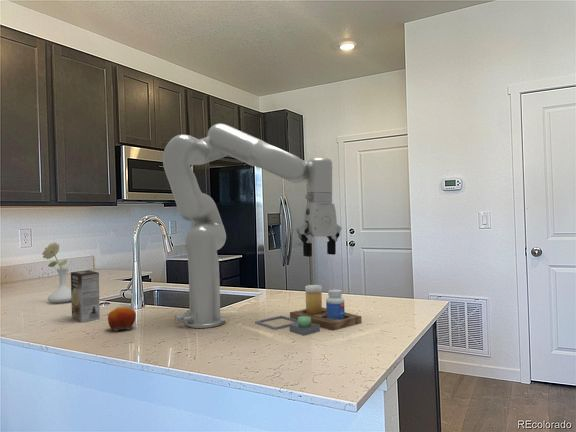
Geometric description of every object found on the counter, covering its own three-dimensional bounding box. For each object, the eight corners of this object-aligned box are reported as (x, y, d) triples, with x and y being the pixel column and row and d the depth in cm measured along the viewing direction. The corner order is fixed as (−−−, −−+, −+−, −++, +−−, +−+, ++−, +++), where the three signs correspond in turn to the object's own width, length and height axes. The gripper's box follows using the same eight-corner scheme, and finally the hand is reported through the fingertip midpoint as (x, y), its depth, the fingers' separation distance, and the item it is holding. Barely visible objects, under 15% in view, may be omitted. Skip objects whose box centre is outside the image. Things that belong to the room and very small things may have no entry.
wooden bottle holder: (332, 334, 119) (332, 323, 119) (290, 322, 134) (289, 312, 134) (361, 326, 127) (361, 316, 127) (318, 316, 142) (317, 306, 142)
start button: (303, 327, 117) (303, 319, 117) (295, 324, 120) (295, 317, 120) (313, 324, 119) (313, 317, 119) (305, 322, 122) (304, 315, 122)
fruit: (109, 330, 124) (108, 304, 128) (108, 339, 130) (106, 314, 134) (139, 326, 128) (136, 301, 132) (136, 335, 134) (133, 310, 138)
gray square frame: (275, 333, 122) (275, 327, 122) (255, 327, 130) (255, 321, 130) (302, 327, 128) (302, 321, 128) (281, 321, 136) (281, 315, 136)
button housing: (303, 339, 115) (303, 328, 115) (289, 335, 120) (289, 324, 120) (320, 335, 119) (319, 324, 119) (305, 331, 124) (305, 320, 124)
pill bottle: (344, 326, 124) (342, 292, 124) (325, 325, 125) (324, 292, 125) (345, 321, 129) (344, 288, 129) (328, 320, 130) (327, 288, 130)
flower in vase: (69, 297, 186) (68, 240, 186) (83, 300, 179) (82, 241, 179) (38, 303, 175) (36, 242, 175) (51, 306, 169) (50, 243, 169)
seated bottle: (313, 320, 131) (312, 288, 131) (302, 318, 135) (301, 286, 135) (326, 318, 134) (325, 286, 134) (314, 315, 138) (314, 284, 138)
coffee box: (70, 318, 147) (69, 272, 147) (89, 315, 152) (88, 270, 152) (81, 322, 141) (80, 274, 141) (101, 319, 145) (99, 271, 145)
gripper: (305, 198, 122) (305, 258, 122) (348, 199, 132) (348, 254, 132) (289, 198, 127) (289, 256, 128) (331, 199, 138) (331, 252, 138)
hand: (319, 255), depth 130 cm, fingers open, 9 cm apart
